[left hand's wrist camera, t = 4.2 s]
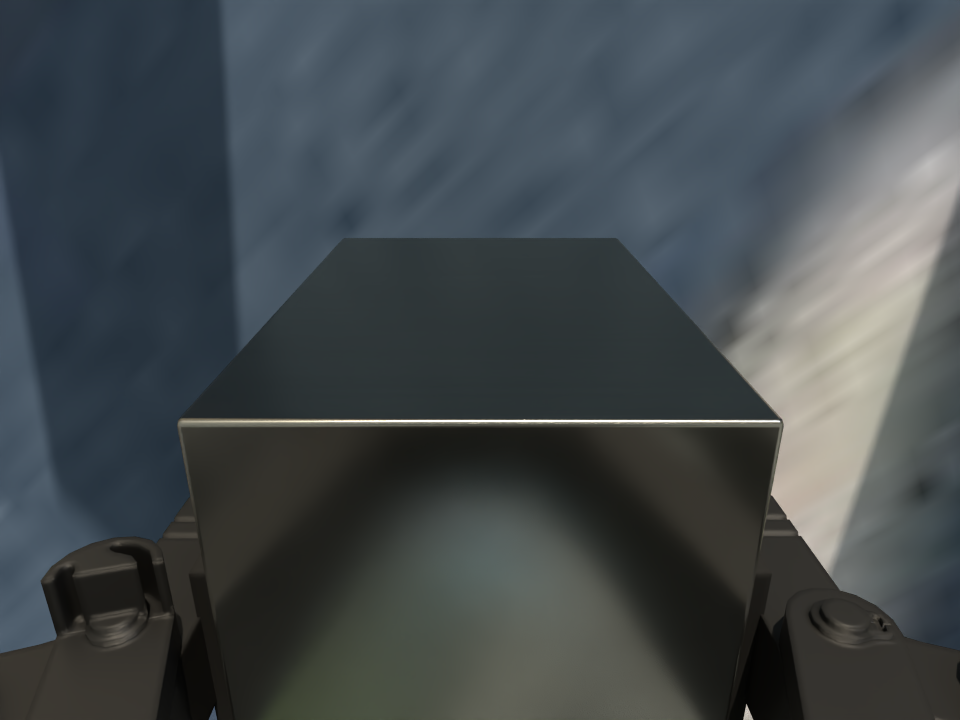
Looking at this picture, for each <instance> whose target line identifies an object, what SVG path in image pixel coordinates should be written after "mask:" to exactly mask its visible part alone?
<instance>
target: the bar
mask: <svg viewBox="0 0 960 720" xmlns="http://www.w3.org/2000/svg"><path fill="white" fill-rule="evenodd" d="M177 427H178V433H179V438H180V443H181V449H182V454H183V459H184V465H185V470H186V475H187V481H188V486H189V491H190V497H191V502H192V507H193V513H194V518H195V523H196V529H197V534H198V540H199V545H200V550H201V556H202V561H203V566H204V572H205V577H206V582H207V588H208V593H209V598H210V604H211V609H212V614H213V620H214V625H215V630H216V636H217V641H218V647H219V652H220V657H221V663H222V668H223V673H224V679H225V684H226V689H227V695H228V700H229V705H230V711H231V716H232V720H729V714H730V709H731V704H732V698H733V693H734V688H735V682H736V677H737V672H738V666H739V661H740V656H741V650H742V645H743V640H744V634H745V629H746V624H747V618H748V613H749V608H750V602H751V597H752V592H753V586H754V581H755V576H756V570H757V565H758V560H759V554H760V549H761V544H762V538H763V533H764V528H765V522H766V517H767V512H768V506H769V501H770V496H771V490H772V485H773V480H774V474H775V469H776V464H777V458H778V453H779V448H780V442H781V437H782V432H783V421H782V419H781V418H780V416H779V415H778V414H777V413H776V412H775V411H774V410H773V409H772V408H771V407H770V405H769V404H768V403H767V402H766V401H765V400H764V399H763V398H762V397H761V396H760V395H759V393H758V392H757V391H756V390H755V389H754V388H753V387H752V386H751V385H750V384H749V382H748V381H747V380H746V379H745V378H744V377H743V376H742V375H741V374H740V373H739V371H738V370H737V369H736V368H735V367H734V366H733V365H732V364H731V363H730V362H729V361H728V359H727V358H726V357H725V356H724V355H723V354H722V353H721V352H720V351H719V350H718V348H717V347H716V346H715V345H714V344H713V343H712V342H711V341H710V340H709V339H708V337H707V336H706V335H705V334H704V333H703V332H702V331H701V330H700V329H699V328H698V327H697V325H696V324H695V323H694V322H693V321H692V320H691V319H690V318H689V317H688V316H687V314H686V313H685V312H684V311H683V310H682V309H681V308H680V307H679V306H678V305H677V303H676V302H675V301H674V300H673V299H672V298H671V297H670V296H669V295H668V294H667V293H666V291H665V290H664V289H663V288H662V287H661V286H660V285H659V284H658V283H657V282H656V280H655V279H654V278H653V277H652V276H651V275H650V274H649V273H648V272H647V271H646V269H645V268H644V267H643V266H642V265H641V264H640V263H639V262H638V261H637V260H636V259H635V257H634V256H633V255H632V254H631V253H630V252H629V251H628V250H627V249H626V248H625V246H624V245H623V244H622V243H621V242H620V241H619V240H618V239H616V238H344V239H342V240H341V241H340V243H339V244H338V245H337V246H336V247H335V248H334V249H333V250H332V251H331V252H330V254H329V255H328V256H327V257H326V258H325V259H324V260H323V261H322V262H321V263H320V265H319V266H318V267H317V268H316V269H315V270H314V271H313V272H312V273H311V274H310V275H309V277H308V278H307V279H306V280H305V281H304V282H303V283H302V284H301V285H300V286H299V288H298V289H297V290H296V291H295V292H294V293H293V294H292V295H291V296H290V297H289V299H288V300H287V301H286V302H285V303H284V304H283V305H282V306H281V307H280V308H279V310H278V311H277V312H276V313H275V314H274V315H273V316H272V317H271V318H270V319H269V321H268V322H267V323H266V324H265V325H264V326H263V327H262V328H261V329H260V330H259V332H258V333H257V334H256V335H255V336H254V337H253V338H252V339H251V340H250V341H249V343H248V344H247V345H246V346H245V347H244V348H243V349H242V350H241V351H240V352H239V354H238V355H237V356H236V357H235V358H234V359H233V360H232V361H231V362H230V363H229V365H228V366H227V367H226V368H225V369H224V370H223V371H222V372H221V373H220V374H219V376H218V377H217V378H216V379H215V380H214V381H213V382H212V383H211V384H210V385H209V387H208V388H207V389H206V390H205V391H204V392H203V393H202V394H201V395H200V396H199V398H198V399H197V400H196V401H195V402H194V403H193V404H192V405H191V406H190V407H189V409H188V410H187V411H186V412H185V413H184V414H183V415H182V416H181V417H180V418H179V420H178V424H177Z"/></svg>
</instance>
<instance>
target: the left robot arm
mask: <svg viewBox="0 0 960 720" xmlns="http://www.w3.org/2000/svg"><path fill="white" fill-rule="evenodd" d="M174 519H175V520H174V522H171V524H170V525H169V526H168V528H167V529H166V531H165V532H164V533H163V538H160V539H159V540H158V542H157V543H154V542H153V541H152V540H148V539H144V538H139V537H117V538H111V539H107V540H103V541H99V542H95V543H91V544H89V545H87V546H85V547H83V548H80V549H78V550H76V551H74V552H72V553H69V554H68V555H67V556H65V557H64V558H63V559H61V560H60V561H58V562H57V563H56V564H54V565H53V566H52V567H51V568H50V569H49V571H48V572H47V573H46V575H45V576H44V577H43V578H42V580H41V584H42V587H43V591H44V594H45V597H46V601H47V604H48V607H49V611H50V614H51V617H52V621H53V624H54V627H55V631H56V634H57V637H56V640H53V641H50V642H47V643H43V644H40V645H36V646H31V647H27V648H22V649H18V650H14V651H9V652H5V653H0V720H209V717H210V715H211V713H212V710H213V708H214V706H215V710H216V716H217V720H232V716H231V711H230V705H229V700H228V695H227V689H226V684H225V679H224V673H223V668H222V663H221V657H220V652H219V647H218V641H217V636H216V630H215V625H214V620H213V614H212V609H211V604H210V598H209V593H208V588H207V582H206V577H205V572H204V566H203V561H202V556H201V550H200V545H199V540H198V534H197V529H196V523H195V518H194V513H193V507H192V502H191V497H190V498H188V500H187V501H186V502H185V504H184V505H183V507H182V508H181V509H180V511H179V512H178V514H177V515H176V516H175V518H174ZM746 704H747V706H748V708H749V711H750V713H751V715H752V718H753V720H960V651H959V650H955V649H950V648H946V647H941V646H937V645H933V644H928V643H924V642H920V641H916V640H913V639H910V638H906V637H904V636H903V634H902V633H901V631H900V630H899V628H898V627H897V625H896V624H895V622H894V620H893V619H892V618H890V617H889V616H888V615H887V614H885V613H884V612H883V611H882V610H881V609H879V608H878V607H877V606H876V605H874V604H872V603H870V602H868V601H866V600H864V599H862V598H860V597H858V596H856V595H853V594H850V593H846V592H843V591H840V590H839V589H838V587H837V586H836V584H835V583H834V582H833V580H832V579H831V577H830V576H829V575H828V573H827V572H826V570H825V569H824V568H823V566H822V565H821V563H820V562H819V561H818V559H817V558H816V556H815V555H814V554H813V552H812V551H811V549H810V548H809V547H808V545H807V544H806V542H805V541H804V540H803V538H802V537H801V536H798V531H797V530H796V528H795V527H794V526H793V524H792V523H791V521H790V520H787V518H786V514H785V513H784V512H783V510H782V509H781V507H780V506H779V505H778V503H777V502H776V500H775V499H774V498H773V496H770V501H769V506H768V512H767V517H766V522H765V528H764V533H763V538H762V544H761V549H760V554H759V560H758V565H757V570H756V576H755V581H754V586H753V592H752V597H751V602H750V608H749V613H748V618H747V624H746V629H745V634H744V640H743V645H742V650H741V656H740V661H739V666H738V672H737V677H736V682H735V688H734V693H733V698H732V704H731V709H730V714H729V720H743V718H744V713H745V708H746Z"/></svg>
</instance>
